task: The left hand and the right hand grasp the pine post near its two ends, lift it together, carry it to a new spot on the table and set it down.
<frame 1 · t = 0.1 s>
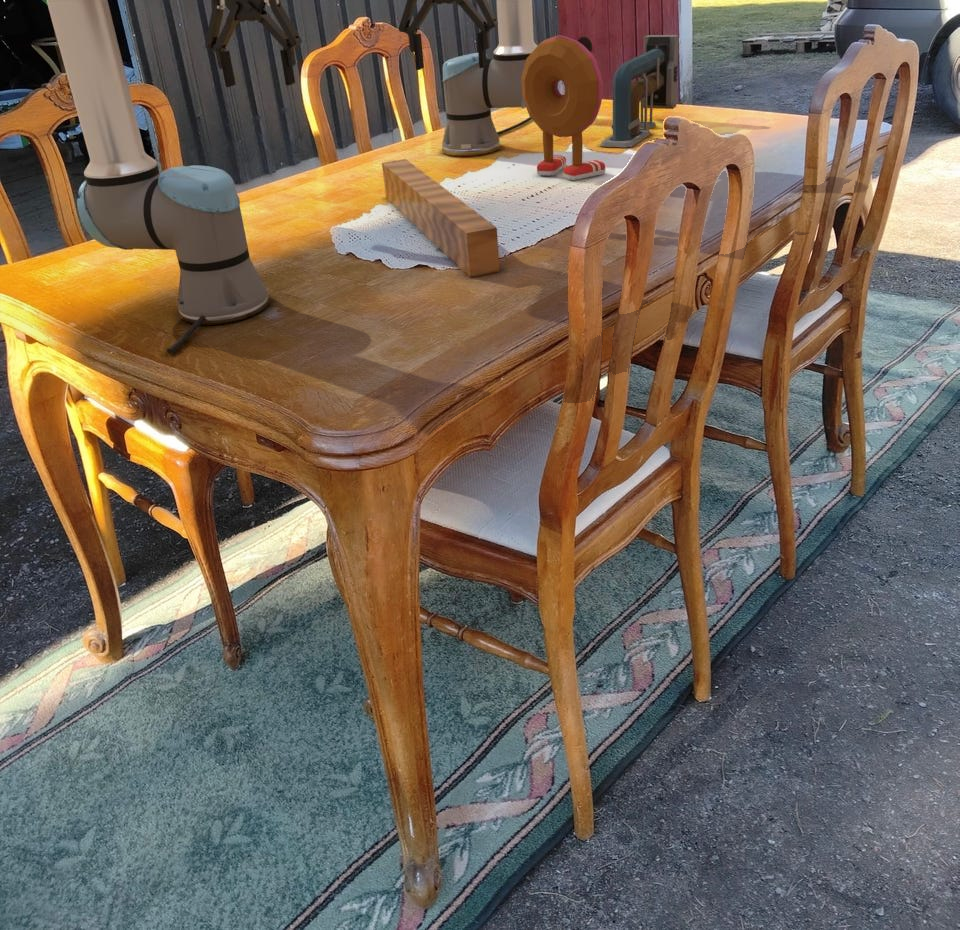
left hand: (260, 85, 196), 28 cm above the table, tool pointing down, fingers open, 13 cm apart
right hand: (451, 68, 197), 28 cm above the table, tool pointing down, fingers open, 13 cm apart
aerosol can: (574, 120, 278), on the table
post: (436, 230, 196), on the table
toy: (567, 174, 226), on the table
clamp: (638, 132, 258), on the table
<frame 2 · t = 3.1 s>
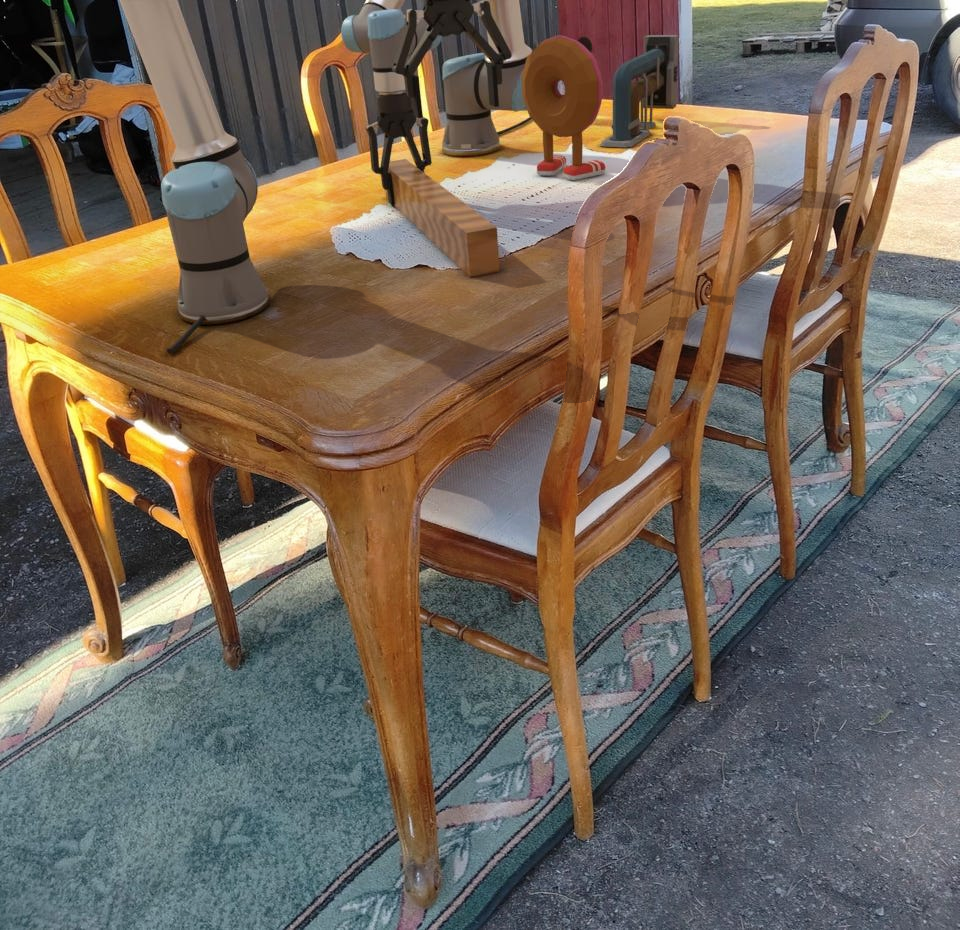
left hand: (456, 111, 164), 27 cm above the table, tool pointing down, fingers open, 13 cm apart
right hand: (405, 201, 215), 1 cm above the table, tool pointing down, fingers closed on post, 6 cm apart
post: (436, 230, 196), on the table, touching right hand
everything else where it was.
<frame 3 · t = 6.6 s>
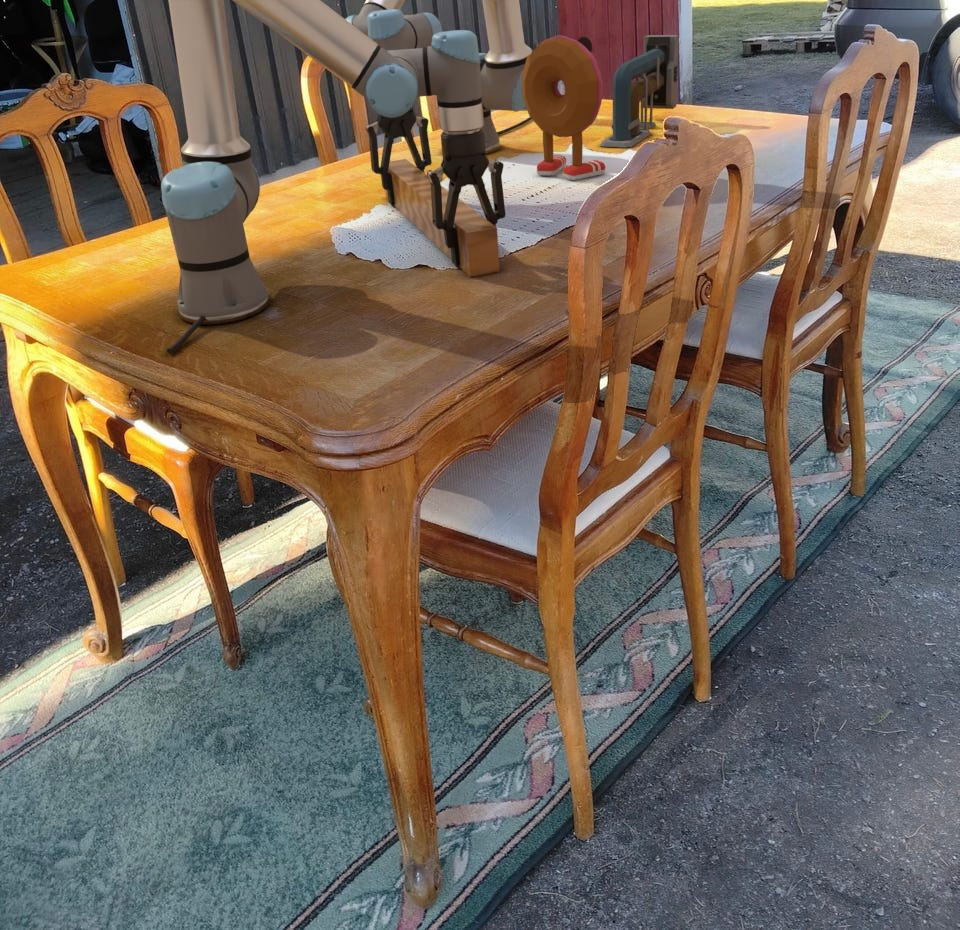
left hand: (472, 260, 177), 1 cm above the table, tool pointing down, fingers closed on post, 6 cm apart
right hand: (405, 201, 215), 1 cm above the table, tool pointing down, fingers closed on post, 6 cm apart
post: (436, 230, 196), on the table, touching left hand, right hand
everything else where it was.
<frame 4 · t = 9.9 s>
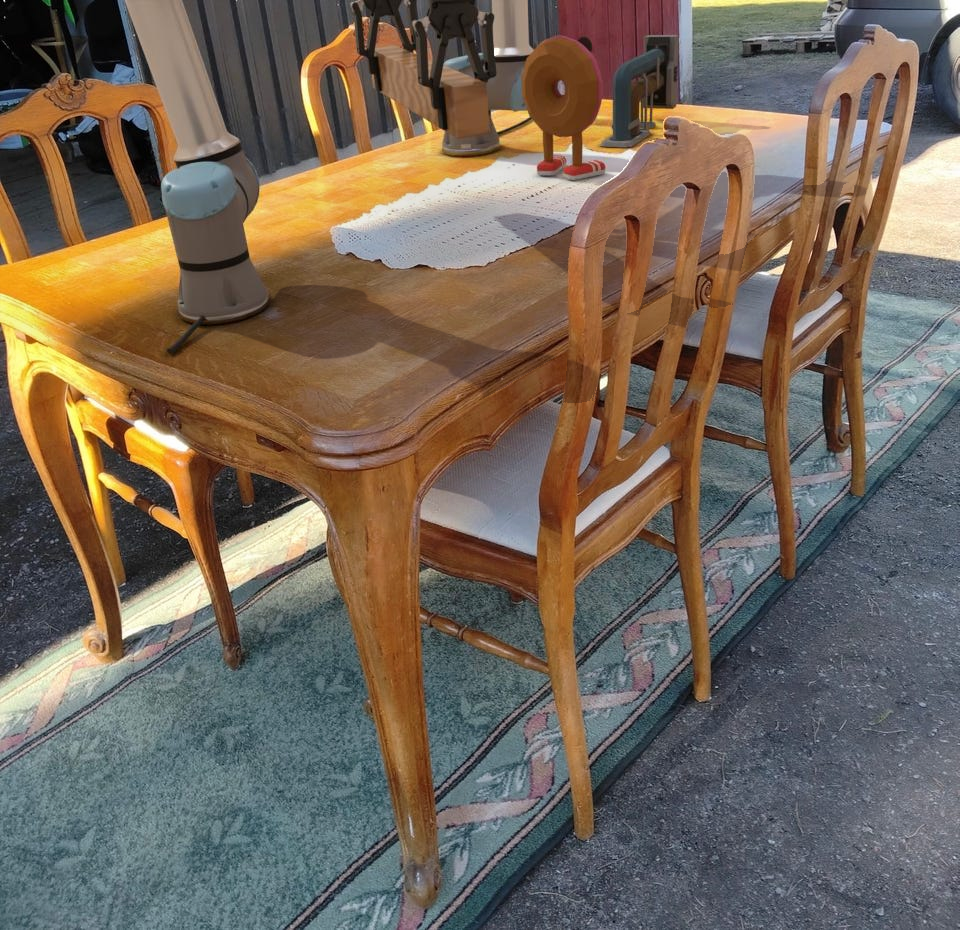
left hand: (460, 125, 165), 24 cm above the table, tool pointing down, fingers closed on post, 6 cm apart
right hand: (393, 88, 203), 24 cm above the table, tool pointing down, fingers closed on post, 6 cm apart
post: (424, 108, 184), point 24 cm above the table, touching left hand, right hand
everything else where it was.
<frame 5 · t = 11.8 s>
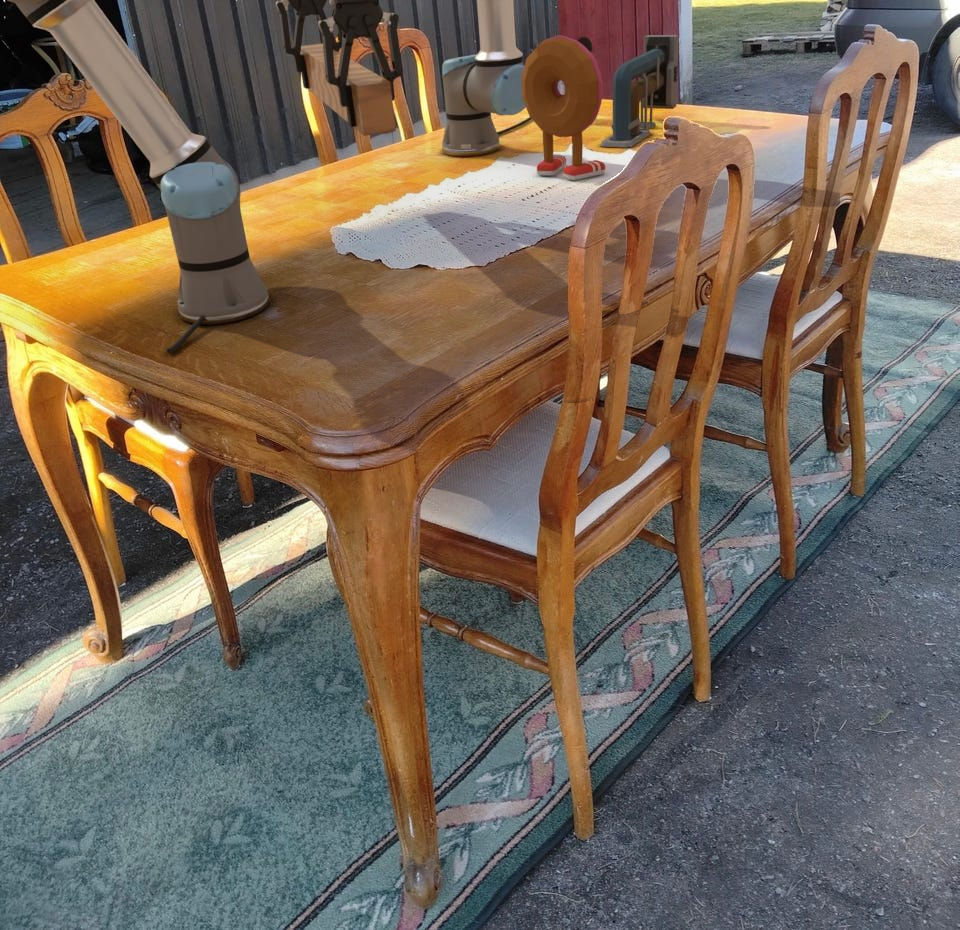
left hand: (370, 122, 170), 25 cm above the table, tool pointing down, fingers closed on post, 6 cm apart
right hand: (321, 85, 208), 25 cm above the table, tool pointing down, fingers closed on post, 6 cm apart
post: (343, 105, 189), point 24 cm above the table, touching left hand, right hand
everything else where it was.
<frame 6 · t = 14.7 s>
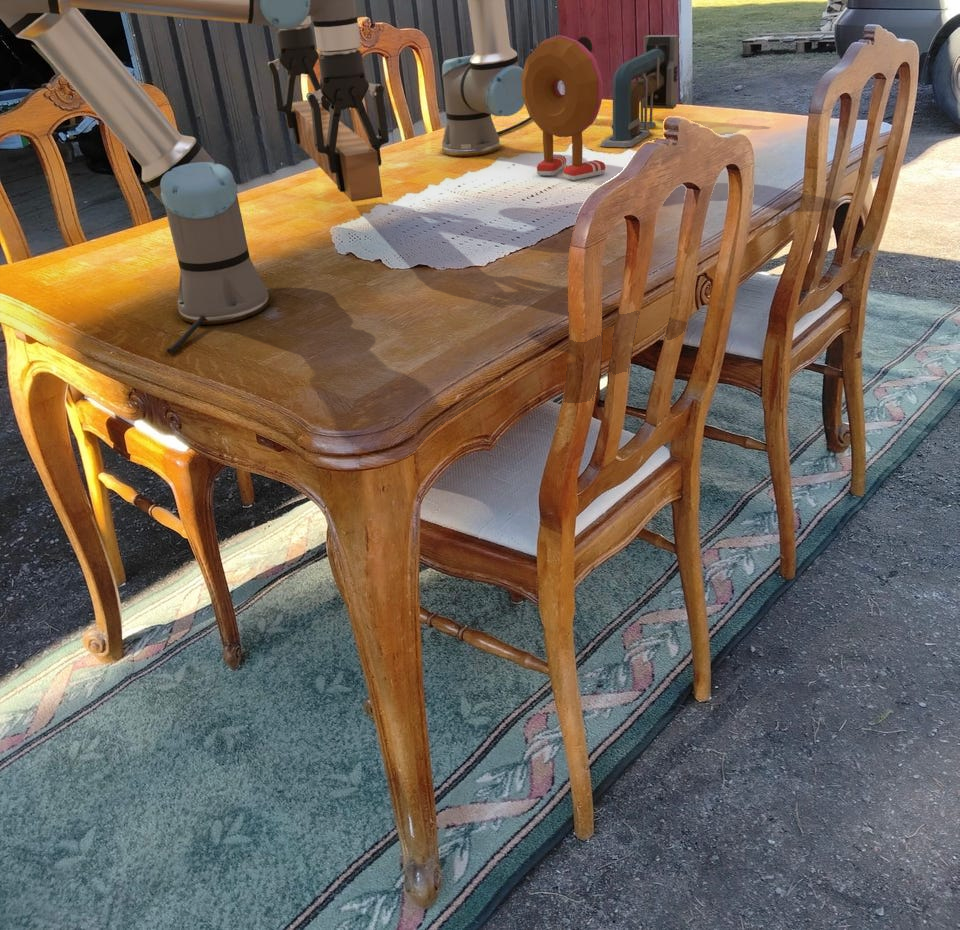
left hand: (358, 187, 177), 14 cm above the table, tool pointing down, fingers closed on post, 6 cm apart
right hand: (311, 140, 215), 14 cm above the table, tool pointing down, fingers closed on post, 6 cm apart
post: (333, 164, 196), point 13 cm above the table, touching left hand, right hand
everything else where it was.
when the left hand's fingers open (2 cm above the table, at t = 17.2 s): post drops 1 cm, on the table.
when the right hand's fingers open (2 cm above the table, at t = 17.2 s): post drops 1 cm, on the table.
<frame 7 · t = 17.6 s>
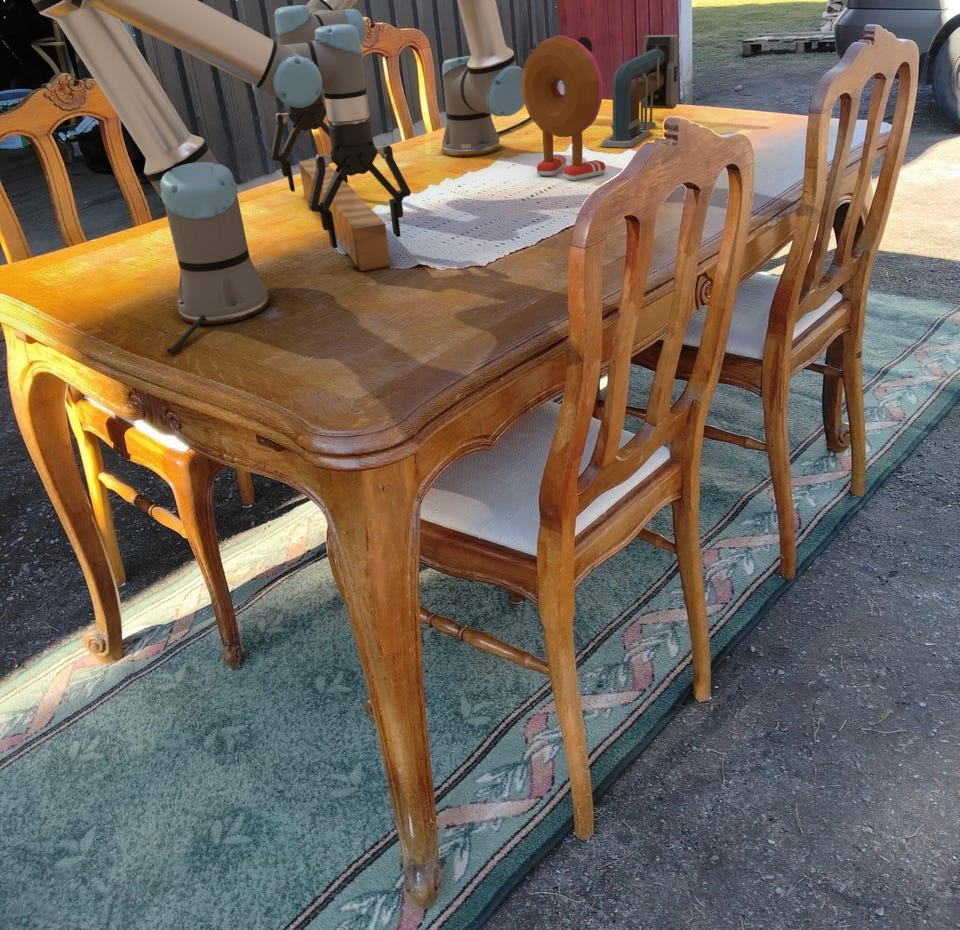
left hand: (365, 240, 182), 3 cm above the table, tool pointing down, fingers open, 11 cm apart
right hand: (319, 186, 220), 3 cm above the table, tool pointing down, fingers open, 11 cm apart
post: (342, 227, 203), on the table
everything else where it was.
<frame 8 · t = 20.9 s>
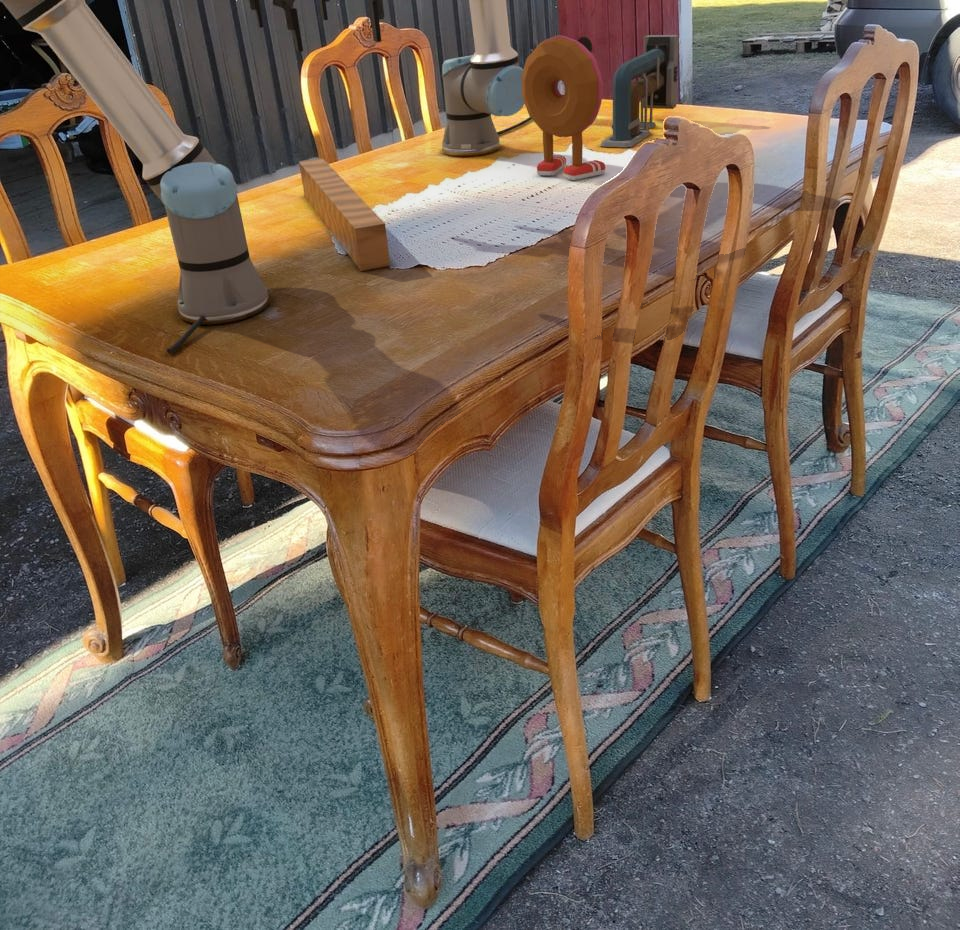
left hand: (339, 46, 165), 38 cm above the table, tool pointing down, fingers open, 13 cm apart
right hand: (293, 23, 203), 37 cm above the table, tool pointing down, fingers open, 13 cm apart
nothing on the table moved.
at the end: post inside the target area (0.1 cm from its centre), on the table; post tilted 0°; post never tilted more than 1° during the clip; both hands held the post at the same time; the left hand is holding nothing; the right hand is holding nothing; post at rest at the end (0.0 cm/s) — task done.
